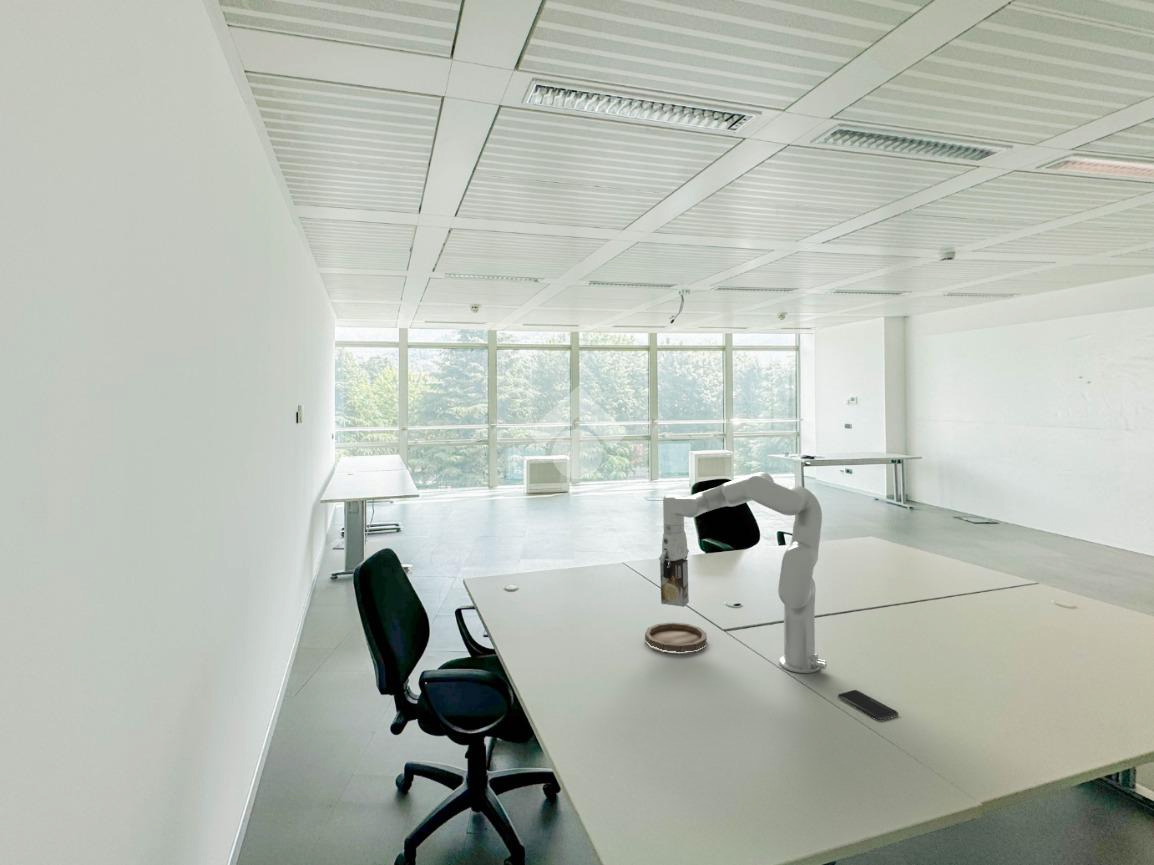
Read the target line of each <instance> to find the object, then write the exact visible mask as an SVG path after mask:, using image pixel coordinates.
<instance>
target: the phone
mask: <svg viewBox="0 0 1154 865" xmlns="http://www.w3.org/2000/svg"><path fill="white" fill-rule="evenodd" d="M837 698H838V699H839V698H840V699H841V700H840V699H839V700H840V701H842V700H843V701H842V702H844V701H845V702H844V703H846V702H847V703H849V704H850V705H849V704H848V705H849V706H851V705H852V706H851V707H853V706H854V707H856V708H857V709H856V708H855V709H856V710H858V709H859V710H861V711H862V712H861V711H860V712H861V713H863V712H864V713H863V714H865V713H866V714H867V715H866V714H865V715H866V716H868V715H869V716H868V717H870V716H871V717H870V718H872V717H873V718H875V719H877V720H884V721H886V720H885V719H887V720H889V719H888V718H890V719H892V718H891V717H894V716H897V715H898V716H899V712H898V711H897V710H895V709H893V708H891V707H890V706H888V705H886V704H883V703H882V702H880V701H878V700H876V699H874V698H873V697H871V696H869V695H867V694H865V693H863V692H862V691H860V690H856V689H853V690H849V691H845V692H842V693H839V694H837ZM847 703H846V704H847ZM854 707H853V708H854ZM859 710H858V711H859ZM898 716H897V717H898ZM873 718H872V719H873ZM894 718H895V717H894ZM875 719H874V720H875ZM877 720H876V721H877Z"/></svg>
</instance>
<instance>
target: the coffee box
mask: <svg viewBox="0 0 1154 865" xmlns="http://www.w3.org/2000/svg"><path fill="white" fill-rule="evenodd" d="M688 561H689V560H688V559H687V558H686V559H680V560H677V561H672V563H671V566H670V568H671V575H672V578H671V579H669V578H665V577H664V568H663V566H662V564H661V562H660V561H659V567H660V570H659V571H660V572H659V573H660V574H659V575H660V601H661V602H660V603H661V605H668V606H669V605H670V606H676V607H681V608H682V607H683V608H684V607H686V606H687V605H688V603H690V600H689V598H690V597H689V573H688V572H689V568H688V566H689V565H688V563H689V562H688ZM668 562H669V561H667V563H668Z"/></svg>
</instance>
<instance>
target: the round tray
mask: <svg viewBox="0 0 1154 865" xmlns="http://www.w3.org/2000/svg"><path fill="white" fill-rule="evenodd" d="M645 640H646V641H647V642H648V643H649V644H650V645H651V646H654V647H657V648H659V649H662V650H667V651H676V652H685V651H694V650H698V649H700V648H702V647H704V646H705V645H707V642H706V640H707V632H706V631H704V630H703V629H702V628H701V627H699V626H696V625H692V624H689V623H685V622H682V623H681V622H664V623H657V624H654V625H652V626H650V627H647V629H646V632H644V641H645Z"/></svg>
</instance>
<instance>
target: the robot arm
mask: <svg viewBox="0 0 1154 865" xmlns="http://www.w3.org/2000/svg"><path fill="white" fill-rule="evenodd" d="M662 501H663V502H662V503H663V504H662V505H663V506H662V508H663V509H662V510H663V513H662V514H663V516H662V517H663V520H662V521H663V534H662V542H661V543H662V544H661V553H660V556H659V557H658V560H659V563H660V562H661V564H662V566H663V568H664V577H665V578H669V579H671V578H672V575H671V568H670V566H671V563H672V561H677V560H680V559H686V560H687V558H688V555H689V552H690V550H689V549H688V540H687V534H686V531H685V518H690V519H691V518H692V519H693V518H696V517H698V516H700V515H702V514H705V513H706V512H707V513H708V512H710V511H713V510H716V509H720V508H725V507H736V506H739V505H742V504H745V503H749V502H751V501H753V502H756V503H758V504H759V505H761V506H763V507H766V508H768V509H770V510H772V511H775V512H776V513H778V514H781V515H784V516H788V517H790V516H794V521H793V522H794V523H793V527H792V535H791V541H790V545H789V546H788V548H786V550H785V552H784V553H783V557H782V560H781V566H780V575H779V582H778V587H777V588H778V589H777V590H778V597H779V599H780V601H781V602H782V604H784V606H783V633H784V634H783V636H784V637H783V643H784V644H783V645H784V651H783V652H784V654H783V655H781V657H780V658H779V665H780V666H781V667H782V668H784V669H785V670H787V671H790V672H793V673H798V674H799V673H800V674H812V673H815V672H817V671H819V670H820V669H822V670H826V669H827V660H825V659H821V658H819V654H818V653H817V652H816V650H815V649H816V646H815V645H816V643H815V637H816V636H815V631H816V630H815V612H816V611H815V610H816V608H815V607H816V606H815V604H816V583H815V579H814V578H813V574H814V568H815V566H816V565H817V562H818V560H819V551H820V550H819V548H820V542H821V541H820V540H821V530H822V524H823V523H822V522H823V514H822V507H821V504H820V501H819V500H818V498H817V497H816V496H815V494H814V493H812V491H810V490H809V489H808V488H806V487H803V486H801V485H798V484H797V485H791V486H788V487H786V486H783V485H781V484H777V483H776V482H775V481H774V478H773V477H772V476H771V475H770V474H769V473H767V472H765V471H764V472H763V471H759V472H754V473H751V474H749V475H746V476H742V477H740V478H735V479H733V480H730V481H728V482H724V483H722V484H721V485H718V486H716V487H713V488H709V489H707V490H704V491H699V492H697V493H694V494H691V495H689V496H686V497H684V496H682V495H680V494H675V493H674V494H667V495H664V496H663V499H662ZM667 561H669V562H668V563H667Z"/></svg>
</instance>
